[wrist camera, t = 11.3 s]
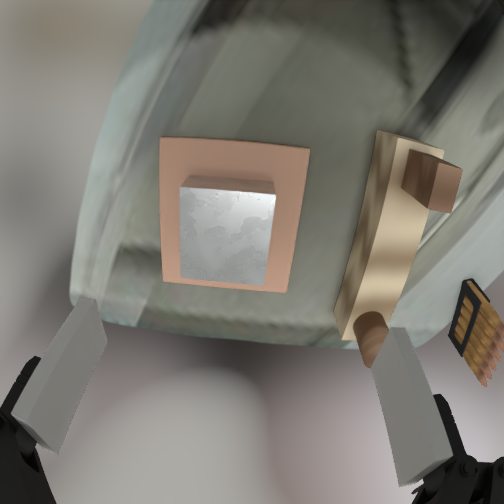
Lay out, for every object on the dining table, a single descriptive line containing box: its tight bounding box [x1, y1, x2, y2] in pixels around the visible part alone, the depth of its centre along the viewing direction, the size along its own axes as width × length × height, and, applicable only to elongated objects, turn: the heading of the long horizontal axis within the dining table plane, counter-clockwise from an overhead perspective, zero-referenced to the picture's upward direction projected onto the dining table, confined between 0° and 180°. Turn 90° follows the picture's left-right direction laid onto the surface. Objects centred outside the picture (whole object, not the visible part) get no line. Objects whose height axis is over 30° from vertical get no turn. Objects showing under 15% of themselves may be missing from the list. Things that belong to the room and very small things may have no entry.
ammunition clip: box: [448, 279, 504, 387], centre depth 32 cm, size 11×2×12 cm, turn 10°
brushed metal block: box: [180, 175, 276, 286], centre depth 29 cm, size 9×8×4 cm
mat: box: [159, 137, 310, 293], centre depth 31 cm, size 16×14×1 cm
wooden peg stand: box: [334, 130, 463, 368], centre depth 28 cm, size 22×5×10 cm, turn 175°
